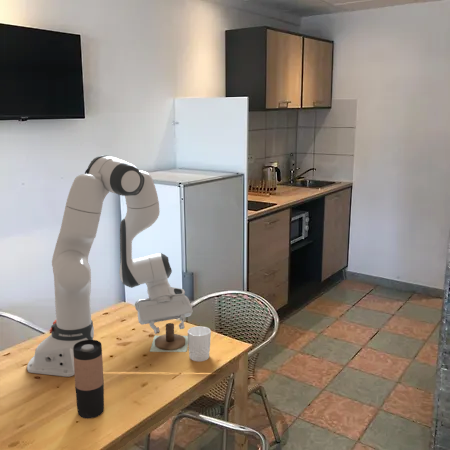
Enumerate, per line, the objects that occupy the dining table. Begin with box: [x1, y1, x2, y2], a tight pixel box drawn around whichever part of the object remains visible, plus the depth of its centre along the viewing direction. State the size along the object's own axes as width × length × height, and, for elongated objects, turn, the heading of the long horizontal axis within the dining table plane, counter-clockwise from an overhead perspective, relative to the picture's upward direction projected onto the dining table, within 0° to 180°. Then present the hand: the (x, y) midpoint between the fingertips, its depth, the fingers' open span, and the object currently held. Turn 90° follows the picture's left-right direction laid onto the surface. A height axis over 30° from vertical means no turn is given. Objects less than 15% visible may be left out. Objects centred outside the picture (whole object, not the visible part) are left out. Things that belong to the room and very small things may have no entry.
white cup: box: [187, 325, 212, 362], centre depth 171 cm, size 8×8×10 cm
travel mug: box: [73, 339, 105, 420], centre depth 138 cm, size 8×8×20 cm
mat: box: [149, 335, 189, 353], centre depth 181 cm, size 13×13×1 cm
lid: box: [155, 322, 185, 350], centre depth 181 cm, size 11×11×7 cm
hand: (170, 330), depth 181 cm, fingers open, 8 cm apart
